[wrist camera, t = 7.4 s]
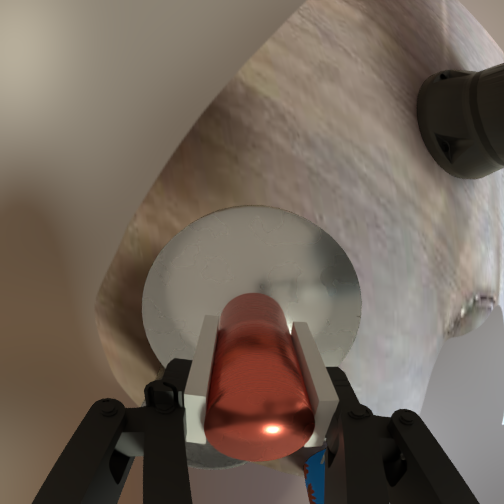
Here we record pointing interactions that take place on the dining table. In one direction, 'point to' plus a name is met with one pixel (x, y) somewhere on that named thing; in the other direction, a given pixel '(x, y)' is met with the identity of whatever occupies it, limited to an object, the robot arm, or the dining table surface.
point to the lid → (253, 319)
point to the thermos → (315, 478)
